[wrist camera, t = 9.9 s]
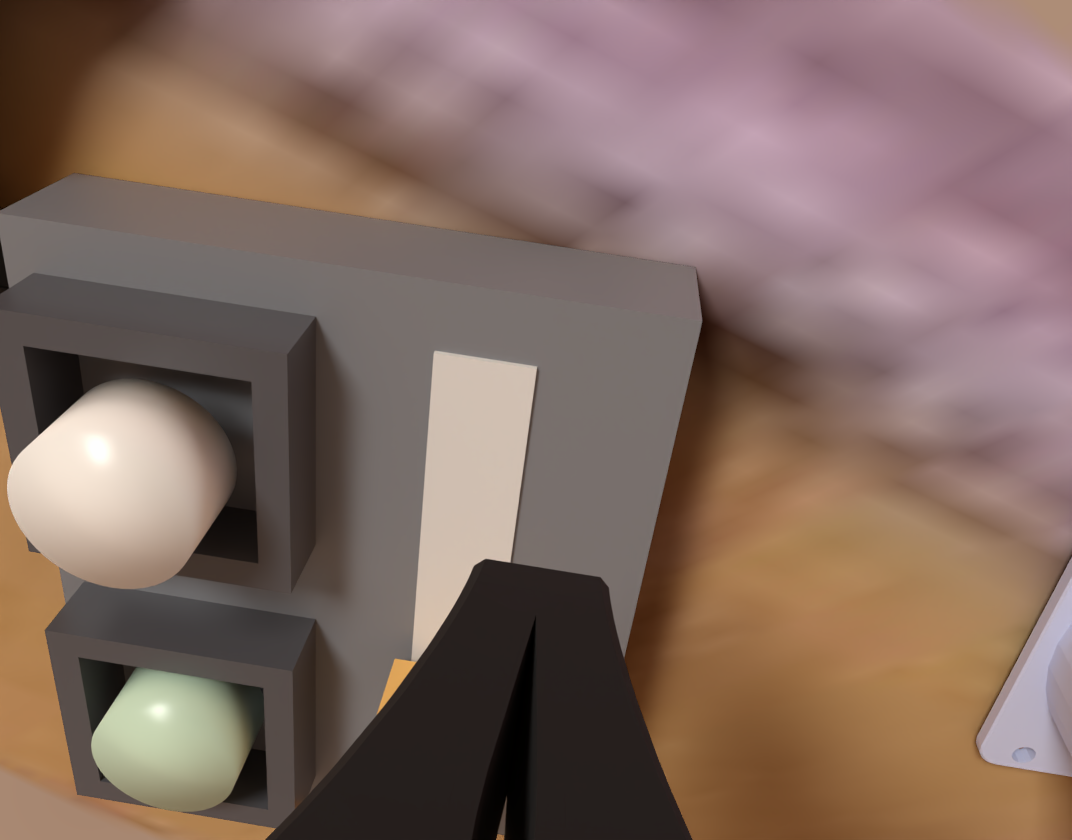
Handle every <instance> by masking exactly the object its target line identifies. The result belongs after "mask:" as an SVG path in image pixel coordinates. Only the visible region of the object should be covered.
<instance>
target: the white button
mask: <svg viewBox="0 0 1072 840" xmlns="http://www.w3.org/2000/svg"><path fill="white" fill-rule="evenodd" d="M236 478H237V466H236V459H235V455H234V451H233V448H232V446H231V443H230V441H229V439H228V437H227V435H226V434H225V432H224V430H223V429H222V427H221V426H220V425H219V423H218V422H217V421H216V420H215V419H214V417H213V416H212V415H211V414H210V413H209V412H208V411H207V410H206V409H204V408H203V407H202V406H201V405H200V404H199V403H197V402H196V401H194V400H193V399H192V398H190V397H189V396H187V395H185V394H183V393H182V392H180V391H178V390H176V389H174V388H171V387H169V386H166V385H163V384H160V383H157V382H153V381H149V380H143V379H118V380H111V381H108V382H105V383H102V384H100V385H98V386H95V387H93V388H92V389H91V390H89V391H88V392H86V393H85V394H84V395H83V396H82V397H81V398H80V399H79V400H77V401H76V402H75V403H74V404H73V405H72V406H71V407H70V408H69V409H68V410H66V411H65V412H64V413H63V414H62V415H61V416H60V417H59V418H58V419H57V420H56V421H54V422H53V423H52V424H51V425H50V426H49V427H48V428H47V429H46V430H45V431H43V432H42V433H41V434H40V435H39V436H38V437H37V438H36V439H35V440H34V441H33V442H31V443H30V444H29V445H28V446H27V447H26V448H25V449H24V450H23V451H22V452H21V453H20V454H19V455H18V456H17V458H16V459H15V461H14V462H13V464H12V467H11V469H10V471H9V476H8V481H7V493H8V500H9V504H10V508H11V511H12V513H13V516H14V518H15V520H16V522H17V524H18V525H19V527H20V529H21V531H22V532H23V533H24V535H25V536H26V537H27V539H28V540H29V541H30V542H31V543H32V544H33V546H34V547H35V548H36V549H37V550H38V551H39V552H41V553H42V554H43V555H44V556H45V557H46V558H47V559H49V560H50V561H51V562H53V563H54V564H55V565H57V566H58V567H60V568H62V569H63V570H65V571H66V572H68V573H70V574H72V575H74V576H76V577H78V578H81V579H83V580H86V581H88V582H91V583H94V584H98V585H101V586H106V587H111V588H119V589H139V588H146V587H150V586H155V585H157V584H160V583H162V582H165V581H166V580H168V579H170V578H172V577H173V576H174V575H175V574H177V573H178V572H179V571H180V570H181V569H182V567H183V566H184V565H185V564H186V562H187V561H188V559H189V558H190V556H191V555H192V553H193V552H194V550H195V549H196V547H197V546H198V544H199V543H200V541H201V540H202V538H203V537H204V535H205V534H206V533H207V531H208V530H209V528H210V527H211V525H212V524H213V522H214V521H215V519H216V518H217V516H218V515H219V513H220V512H221V510H222V509H223V507H224V506H225V504H226V503H227V501H228V500H229V498H230V496H231V495H232V492H233V490H234V487H235V483H236Z"/></svg>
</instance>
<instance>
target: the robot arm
mask: <svg viewBox="0 0 1072 840" xmlns="http://www.w3.org/2000/svg"><path fill="white" fill-rule="evenodd" d="M976 744H977V747H978V749H979V752H980V755H981V757H982V758H983V759H984V760H985V761H987V762H990V763H993V764H997V765H1003V766H1009V767H1015V768H1021V769H1028V770H1034V771H1040V772H1046V773H1052V774H1058V775H1064V776H1070V777H1072V557H1071V559H1070V561H1069V563H1068V565H1067V567H1066V569H1065V571H1064V573H1063V575H1062V576H1061V578H1060V580H1059V582H1058V584H1057V586H1056V588H1055V590H1054V592H1053V593H1052V595H1051V597H1050V599H1049V601H1048V603H1047V605H1046V607H1045V609H1044V610H1043V612H1042V614H1041V616H1040V618H1039V620H1038V622H1037V624H1036V626H1035V628H1034V629H1033V631H1032V633H1031V635H1030V637H1029V639H1028V641H1027V643H1026V645H1025V646H1024V648H1023V650H1022V652H1021V654H1020V656H1019V658H1018V660H1017V662H1016V664H1015V665H1014V667H1013V669H1012V671H1011V673H1010V675H1009V677H1008V679H1007V681H1006V682H1005V684H1004V686H1003V688H1002V690H1001V692H1000V694H999V696H998V698H997V700H996V701H995V703H994V705H993V707H992V709H991V711H990V713H989V715H988V717H987V718H986V720H985V722H984V724H983V726H982V728H981V730H980V732H979V734H978V735H977V739H976ZM1022 747H1024V748H1022ZM1019 748H1022V749H1019ZM506 798H507V802H506ZM505 802H506V818H505V835H504V840H692V838H691V835H690V833H689V831H688V829H687V826H686V824H685V822H684V819H683V817H682V815H681V812H680V810H679V808H678V806H677V803H676V801H675V799H674V796H673V794H672V792H671V789H670V787H669V784H668V782H667V780H666V777H665V775H664V772H663V770H662V767H661V765H660V762H659V760H658V757H657V754H656V752H655V749H654V746H653V743H652V741H651V738H650V735H649V732H648V730H647V727H646V724H645V721H644V719H643V716H642V713H641V710H640V708H639V705H638V702H637V699H636V696H635V693H634V690H633V687H632V684H631V680H630V677H629V674H628V670H627V667H626V663H625V660H624V657H623V653H622V650H621V646H620V642H619V638H618V634H617V630H616V626H615V621H614V617H613V611H612V606H611V600H610V592H609V587H608V586H607V585H606V583H605V582H604V581H603V580H602V578H601V577H597V576H590V575H584V574H578V573H572V572H565V571H559V570H553V569H547V568H541V567H534V566H528V565H522V564H516V563H510V562H503V561H497V560H491V559H484V560H483V561H481V562H479V563H477V564H476V565H474V567H473V569H472V571H471V574H470V576H469V578H468V580H467V582H466V584H465V586H464V588H463V590H462V592H461V594H460V596H459V597H458V599H457V601H456V603H455V604H454V606H453V608H452V609H451V611H450V613H449V614H448V616H447V618H446V619H445V621H444V622H443V624H442V625H441V627H440V628H439V630H438V632H437V633H436V635H435V636H434V638H433V639H432V641H431V642H430V644H429V645H428V647H427V648H426V650H425V651H424V652H423V654H422V655H421V656H420V658H419V659H418V661H417V662H416V663H415V665H414V666H413V667H412V669H411V670H410V672H409V673H408V674H407V676H406V677H405V678H404V680H403V681H402V683H401V684H400V685H399V687H398V688H397V689H396V691H395V692H394V694H393V695H392V696H391V698H390V699H389V700H388V701H387V703H386V704H385V705H384V707H383V708H382V709H381V710H380V712H379V713H378V714H377V715H376V716H375V718H374V719H373V720H372V721H371V722H370V724H369V725H368V726H367V727H366V728H365V730H364V731H363V732H362V733H361V734H360V736H359V737H358V738H357V739H356V740H355V742H354V743H353V744H352V745H351V746H350V748H349V749H348V750H347V751H346V752H345V754H344V755H343V756H342V757H341V758H340V760H339V761H338V762H337V763H336V764H335V766H334V767H333V768H332V769H331V770H330V771H329V772H328V774H327V775H326V776H325V777H324V778H323V779H322V780H321V781H320V782H319V784H318V785H317V786H316V787H315V788H314V789H313V790H312V791H311V792H310V794H309V795H308V796H307V797H306V798H305V799H304V800H303V801H302V802H301V803H300V804H299V805H298V806H297V808H296V809H295V810H294V811H293V812H292V813H291V814H290V815H289V816H288V817H287V818H286V819H285V820H284V821H283V822H282V823H281V824H280V825H279V826H278V827H277V828H276V829H275V830H274V831H273V832H272V833H271V834H270V835H269V836H268V837H267V838H266V840H496V838H497V834H498V830H499V826H500V822H501V818H502V814H503V810H504V806H505Z"/></svg>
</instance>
